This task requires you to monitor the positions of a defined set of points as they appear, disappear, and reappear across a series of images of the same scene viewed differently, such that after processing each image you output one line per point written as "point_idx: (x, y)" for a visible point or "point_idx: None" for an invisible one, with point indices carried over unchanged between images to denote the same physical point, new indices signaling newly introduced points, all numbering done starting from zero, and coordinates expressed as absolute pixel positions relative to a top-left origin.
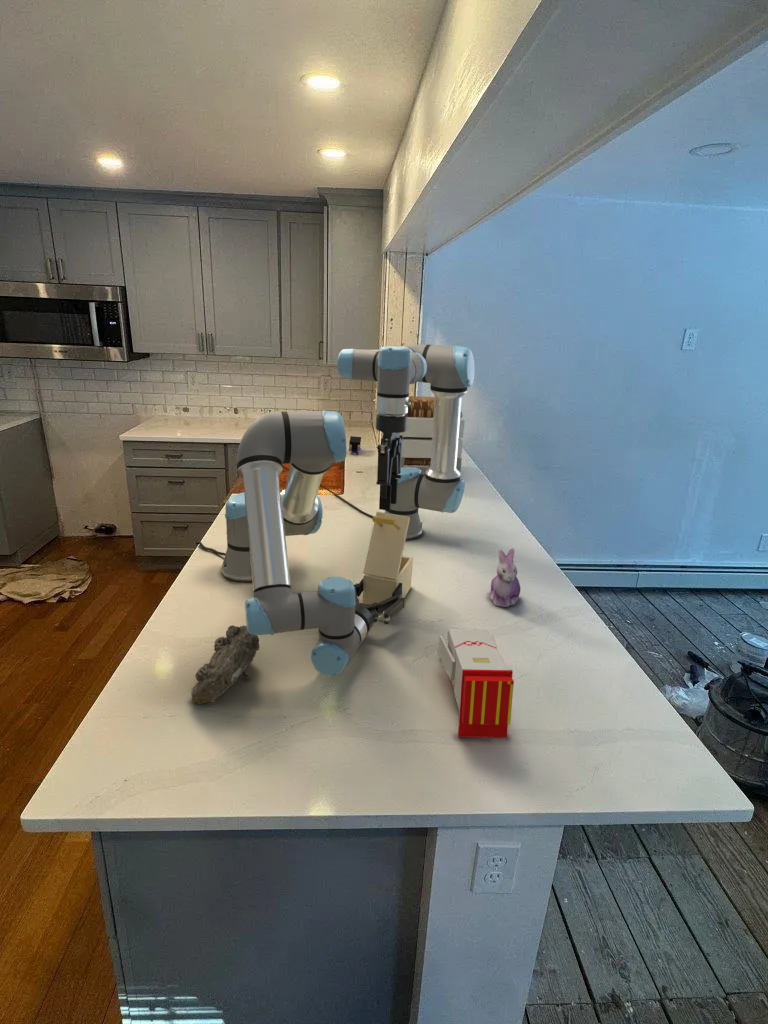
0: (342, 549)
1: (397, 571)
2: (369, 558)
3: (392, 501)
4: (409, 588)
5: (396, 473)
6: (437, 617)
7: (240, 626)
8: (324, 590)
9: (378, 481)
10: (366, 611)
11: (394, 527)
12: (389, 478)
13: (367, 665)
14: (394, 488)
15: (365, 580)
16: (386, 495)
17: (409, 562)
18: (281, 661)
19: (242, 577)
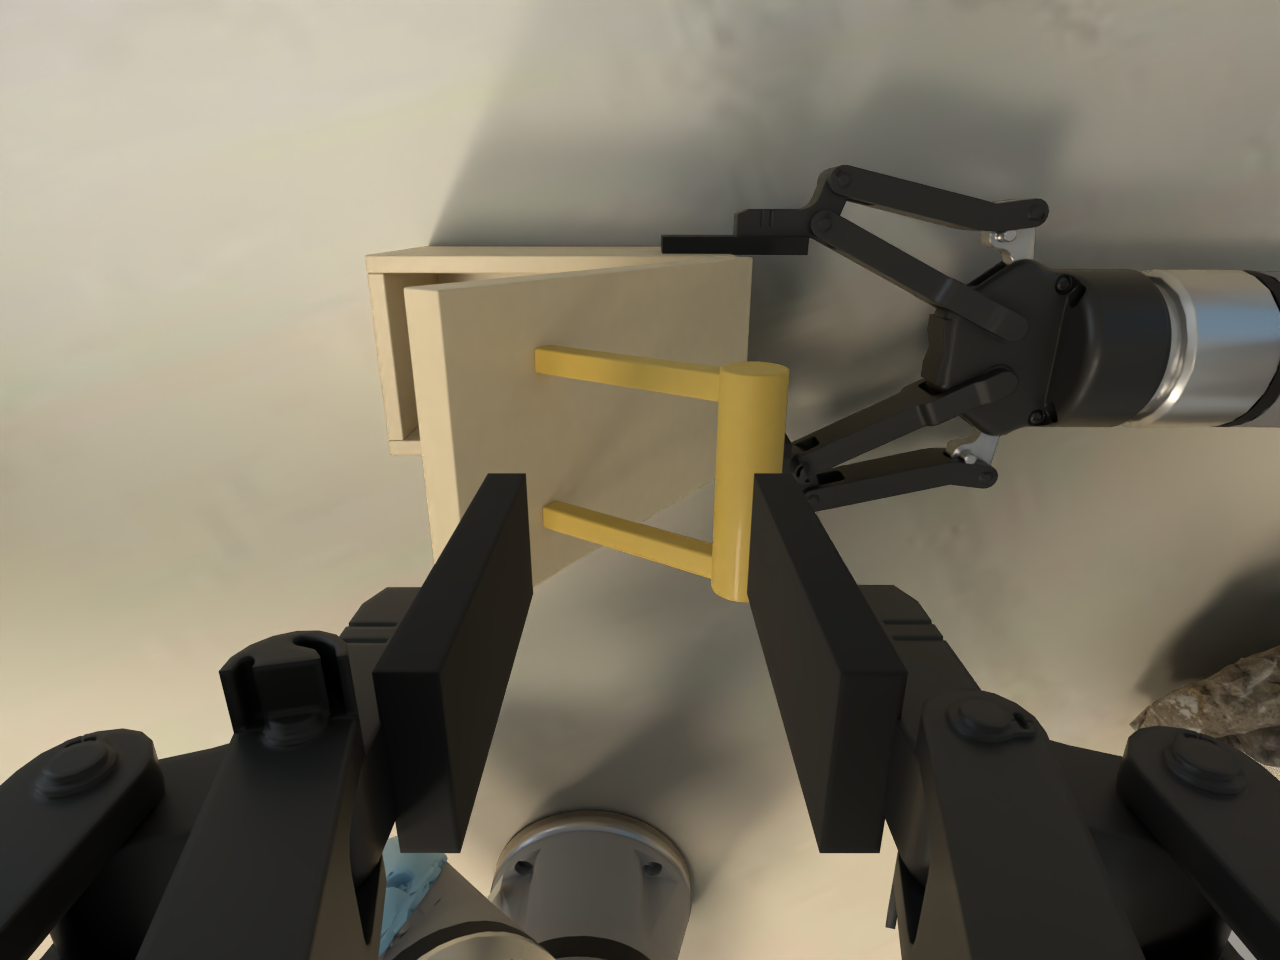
0: (217, 672)
1: (729, 261)
2: (699, 468)
3: (522, 526)
4: (454, 246)
5: (350, 797)
6: (671, 17)
7: (1218, 736)
8: None
9: (1225, 948)
10: (1118, 308)
11: (543, 398)
12: (1072, 827)
13: (1153, 230)
14: (483, 604)
15: None
16: (913, 613)
17: (446, 256)
18: (1167, 536)
19: (686, 879)
